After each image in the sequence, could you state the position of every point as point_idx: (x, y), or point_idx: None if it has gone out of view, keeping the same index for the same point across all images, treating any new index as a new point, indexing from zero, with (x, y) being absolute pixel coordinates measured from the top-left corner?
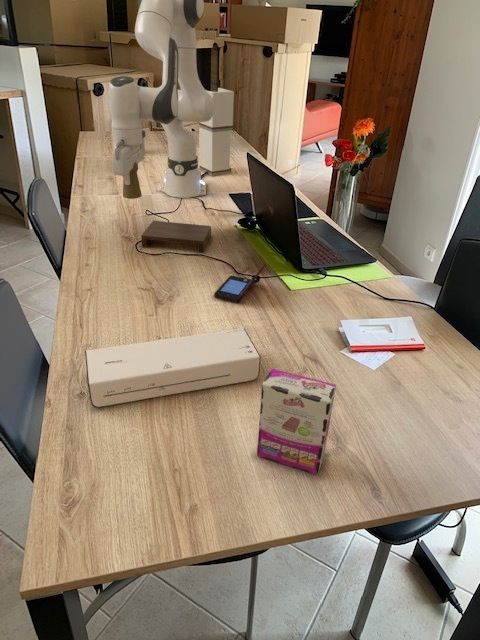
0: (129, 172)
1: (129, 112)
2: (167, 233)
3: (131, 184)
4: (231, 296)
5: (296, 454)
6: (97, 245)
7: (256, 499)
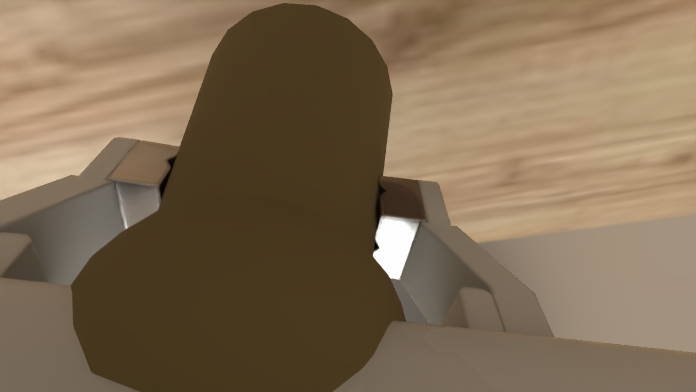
0: (473, 309)
1: None
2: None
3: (381, 162)
4: None
5: None
6: (484, 159)
7: None
